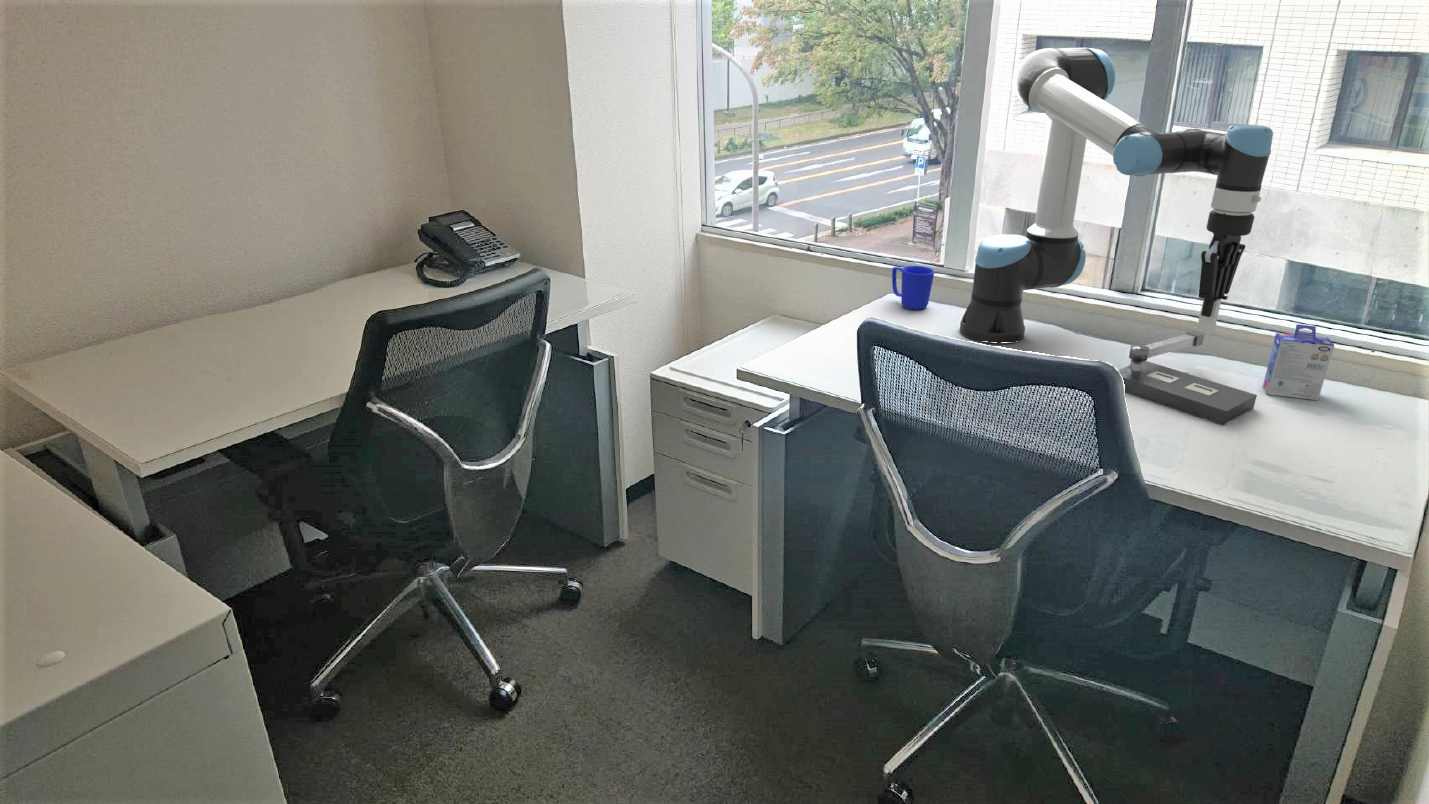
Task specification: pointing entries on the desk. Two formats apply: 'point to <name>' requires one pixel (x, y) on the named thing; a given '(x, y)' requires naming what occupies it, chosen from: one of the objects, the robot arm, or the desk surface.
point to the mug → (914, 286)
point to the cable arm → (1165, 346)
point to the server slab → (1186, 392)
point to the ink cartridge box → (1298, 364)
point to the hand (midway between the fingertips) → (1205, 330)
